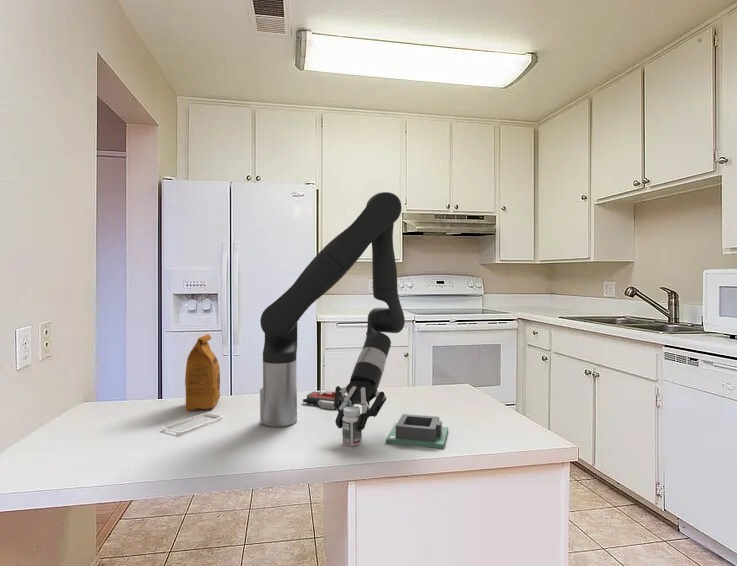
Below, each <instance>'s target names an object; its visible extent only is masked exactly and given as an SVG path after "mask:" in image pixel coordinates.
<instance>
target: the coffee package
mask: <svg viewBox="0 0 737 566" xmlns="http://www.w3.org/2000/svg"><path fill="white" fill-rule="evenodd" d="M211 339H212V336H211V335H210V333H207V334H205V335H204V334H203V336H200V337H198V338H197V341H196V343H195V344H194V346H193V347H192V349H191V350H190V352H189V354H188V356H187V358H186V359H187V360H186V366H185V377H184V384H185V386H184V387H185V411H187V412H188V411H189V412H191V411H198V410H208V409H213V408H214V407H215V406H216V404H217V403H218V402H219V400H220V398H221V391H220V390H221V389H220V388H221V369H220V368H221V367H220V363H219V360H218V358H217V356H216V355H215V354H214V352H213V351H212V350H211V347H210V343H209V341H210V340H211Z"/></svg>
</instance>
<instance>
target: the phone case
mask: <svg viewBox="0 0 737 566" xmlns="http://www.w3.org/2000/svg"><path fill="white" fill-rule="evenodd" d="M202 417H211V418H214V419H211V420H209V421H206V422H203V423H201V424H198V425H195V426H193V427H189V428H187V429H185V430H181V431H179V430H173V428H175V427H178V426H181V425H183V424H184V425H185V424H186V423H189V422H192V421H194V420H197V419H200V418H202ZM222 420H224V416H223V415H220V414H214V413H211V412H203V413H201V414H198V415H197V414H196V415H195V416H192V417H189V418H187V419H183V420H181V421H178V422H175V423H173V424H170V425H167V426H163V427H162V430H161V431H162V432H163V433H165V432H166V431H167V432H172V433H175V434H176V436H184V435H186V434H189V433H192V432H194V431H197V430H199V429H202V428H205V427H207V426H209V424H210V423H213V422H216V421H219V422H220V421H222Z"/></svg>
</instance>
